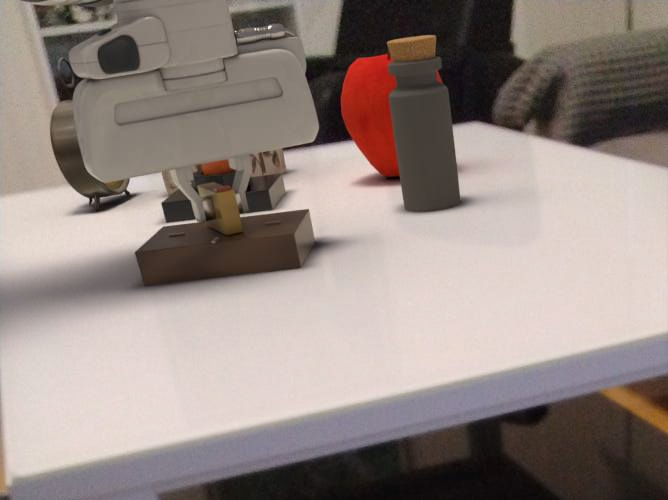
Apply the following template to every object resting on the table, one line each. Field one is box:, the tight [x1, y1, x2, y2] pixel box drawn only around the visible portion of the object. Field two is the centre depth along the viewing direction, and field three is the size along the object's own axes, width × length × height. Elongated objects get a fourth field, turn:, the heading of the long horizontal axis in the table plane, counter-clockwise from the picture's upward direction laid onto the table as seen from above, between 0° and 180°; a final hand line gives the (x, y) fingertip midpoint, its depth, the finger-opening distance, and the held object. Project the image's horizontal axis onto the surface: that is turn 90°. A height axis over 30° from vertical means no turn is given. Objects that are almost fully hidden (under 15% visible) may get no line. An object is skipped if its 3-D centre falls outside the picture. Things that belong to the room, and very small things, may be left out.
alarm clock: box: [49, 56, 131, 213], centre depth 123 cm, size 11×5×16 cm, turn 171°
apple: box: [340, 47, 444, 178], centre depth 117 cm, size 12×12×13 cm
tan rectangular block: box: [197, 182, 243, 235], centre depth 90 cm, size 6×2×4 cm, turn 29°
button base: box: [160, 170, 287, 224], centre depth 116 cm, size 12×10×4 cm
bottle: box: [386, 34, 461, 213], centre depth 101 cm, size 6×6×15 cm
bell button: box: [201, 159, 234, 175], centre depth 114 cm, size 4×4×2 cm
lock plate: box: [134, 208, 316, 287], centre depth 92 cm, size 14×10×3 cm
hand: (222, 217), depth 91 cm, fingers closed on tan rectangular block, 2 cm apart
